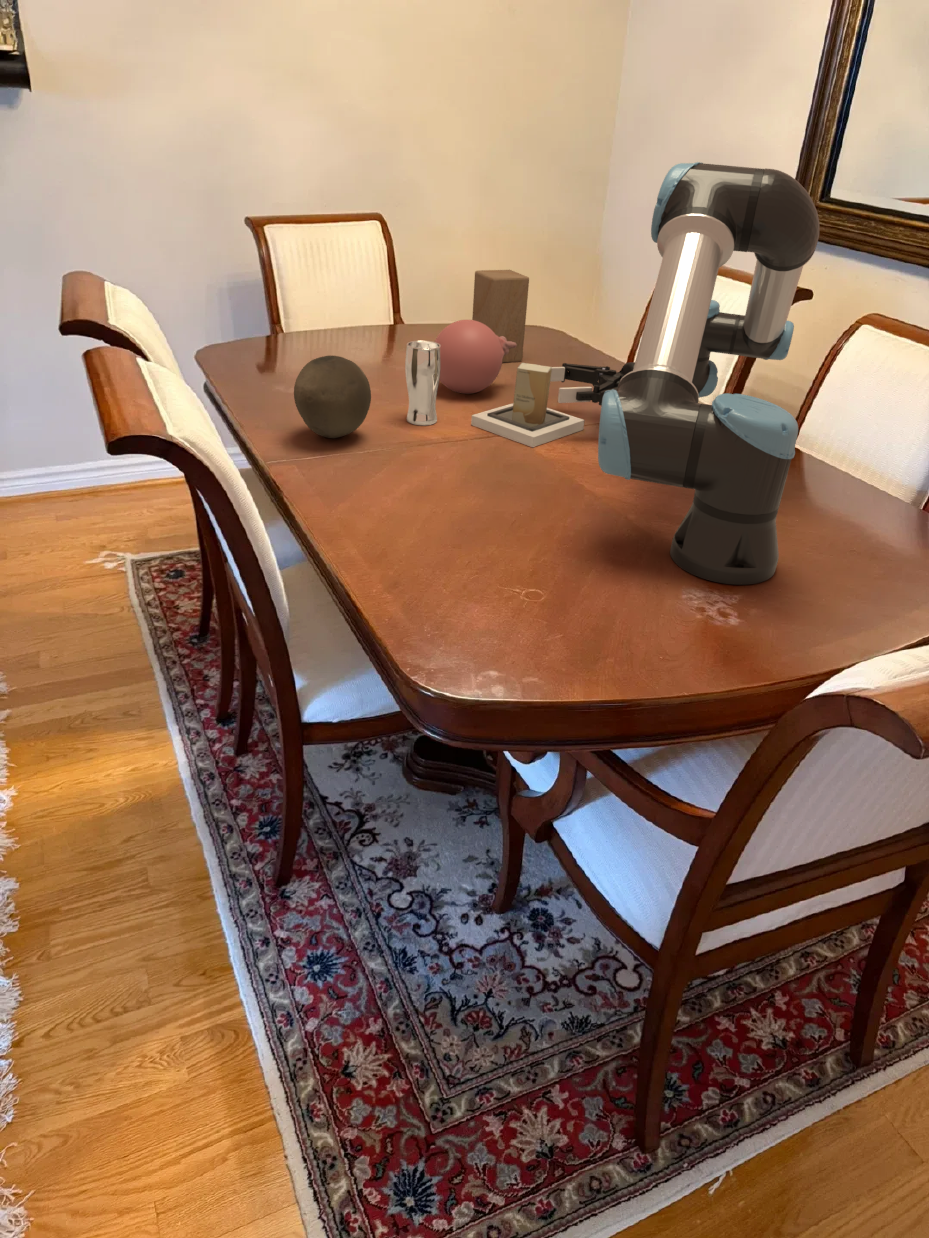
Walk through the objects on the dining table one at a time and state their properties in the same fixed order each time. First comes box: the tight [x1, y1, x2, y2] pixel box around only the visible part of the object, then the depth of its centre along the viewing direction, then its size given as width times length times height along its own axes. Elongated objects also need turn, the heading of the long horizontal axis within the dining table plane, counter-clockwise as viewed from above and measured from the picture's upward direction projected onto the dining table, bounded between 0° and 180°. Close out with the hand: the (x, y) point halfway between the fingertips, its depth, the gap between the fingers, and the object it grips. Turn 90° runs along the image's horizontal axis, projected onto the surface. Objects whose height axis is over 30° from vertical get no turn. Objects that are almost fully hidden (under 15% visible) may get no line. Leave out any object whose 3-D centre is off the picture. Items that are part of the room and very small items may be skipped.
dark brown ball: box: [293, 355, 372, 439], centre depth 156 cm, size 14×14×15 cm
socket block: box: [470, 402, 585, 448], centre depth 170 cm, size 16×16×2 cm
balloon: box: [434, 319, 517, 395], centre depth 186 cm, size 15×20×15 cm
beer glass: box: [404, 339, 441, 426], centre depth 167 cm, size 7×7×15 cm
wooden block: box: [471, 269, 530, 364], centre depth 209 cm, size 10×10×20 cm
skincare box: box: [512, 362, 552, 427], centre depth 168 cm, size 6×4×12 cm
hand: (545, 385), depth 167 cm, fingers open, 13 cm apart
